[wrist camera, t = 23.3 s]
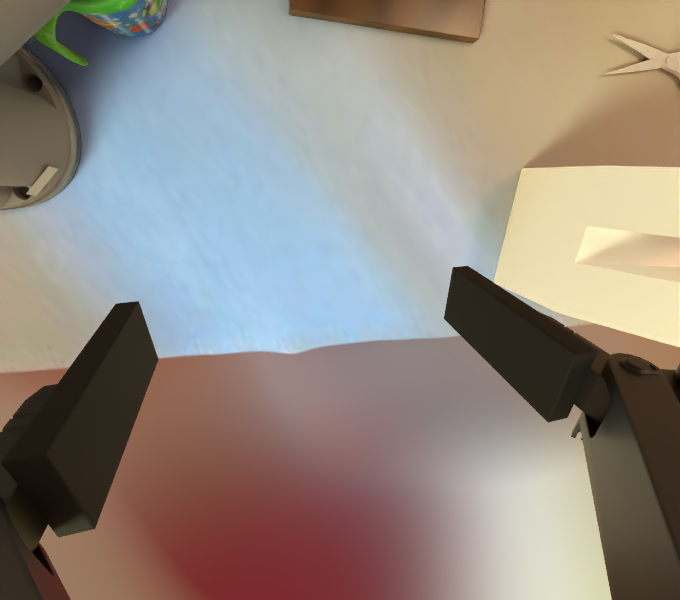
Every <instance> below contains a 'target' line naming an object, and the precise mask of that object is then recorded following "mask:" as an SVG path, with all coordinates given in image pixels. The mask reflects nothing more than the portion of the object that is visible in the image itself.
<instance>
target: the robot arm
mask: <svg viewBox="0 0 680 600" xmlns="http://www.w3.org/2000/svg"><path fill="white" fill-rule="evenodd" d="M70 1H71V0H0V210H5V209H15V208H23V207H28V206H33V205H37V204H40V203H42V202H45V201H47V200H49V199H51V198H53V197H54V196H56V195H57V194H58V193H60V192H61V191H62V190H63V189H64V188H65V187H66V186H67V185H68V183H69V182H70V181H71V179H72V178H73V176H74V174H75V172H76V170H77V167H78V164H79V160H80V154H81V136H80V129H79V124H78V120H77V117H76V114H75V111H74V109H73V107H72V104H71V102H70V100H69V98H68V97H67V95H66V93H65V91H64V90H63V88H62V87H61V85H60V84H59V82H58V81H57V80H56V78H55V77H54V76H53V74H52V73H51V72H50V71H49V70H48V69H47V67H46V66H45V65H44V64H43V63H42V62H41V61H40V60H39V59H38V58H36V57H35V56H34V55H33V54H32V53H31V52H30V51H28V50H27V49H26V48H24V47H23V45H24V44H25V43H26V42H27V41H28V40H29V39H30V38H31V37H32V36H33V35H34V34H36V33H37V32H38V31H39V30H40V29H41V28H42V27H43V26H44V25H45V24H46V23H47V22H48V21H50V20H51V19H52V18H53V17H54V16H55V15H56V14H57V13H58V12H59V11H60V10H61V9H62V8H63V7H65V6H66V5H67V4H68V3H69V2H70ZM444 319H445V320H446V321H447V322H448V323H449V324H450V325H451V326H452V327H453V328H454V329H455V330H456V331H457V332H458V333H459V334H460V335H461V336H462V337H463V338H464V339H465V340H466V341H467V342H468V343H469V344H470V345H471V346H472V347H473V348H474V349H475V350H476V351H477V352H478V353H479V354H480V355H481V356H482V357H483V358H484V359H485V360H486V361H487V362H488V363H489V364H490V365H491V366H492V367H493V368H494V369H495V370H496V371H497V372H498V373H499V374H500V375H501V376H502V377H503V378H504V379H505V380H506V381H507V382H508V383H509V384H510V385H511V386H512V387H513V388H514V389H515V390H516V391H517V392H518V393H519V394H520V395H521V396H522V397H523V398H524V399H525V400H526V401H527V402H529V404H530V405H531V406H532V407H533V408H534V409H535V410H536V411H537V412H538V413H539V414H540V415H541V416H542V417H543V418H544V419H545V420H546V421H547V422H551V421H556V420H560V419H564V418H567V417H568V415H569V413H570V411H571V409H572V407H573V404H575V405H576V406H577V407H578V408H580V409H581V410H582V413H581V415H580V417H579V419H578V421H577V423H576V425H575V427H574V429H573V431H572V435H571V437H574V438H575V437H576V435H577V433H578V432H580V431H581V434H582V438H581V440H583V445H584V450H585V455H586V461H587V466H588V472H589V477H590V483H591V488H592V494H593V499H594V504H595V510H596V515H597V521H598V526H599V531H600V537H601V542H602V548H603V553H604V559H605V564H606V570H607V575H608V581H609V586H610V592H611V597H612V600H680V364H679V366H678V367H677V369H676V370H665V369H659V368H658V367H656V366H655V365H654V364H652V363H651V362H649V361H646V360H644V359H642V358H640V357H636V356H633V355H629V354H622V353H617V354H612V355H610V354H608V353H607V352H605V351H603V350H602V349H600V348H599V347H597V346H596V345H594V344H592V343H591V342H589V341H588V340H586V339H585V338H583V337H581V336H580V335H578V334H577V333H574V331H572V330H570V329H569V328H568V327H564V325H563V324H561V323H560V322H558V321H557V320H555V319H553V318H552V317H549V316H547V315H544V314H542V313H539V312H538V311H536V310H535V309H533V308H532V307H530V306H529V305H527V304H525V303H524V302H522V301H521V300H519V299H518V298H516V297H515V296H513V295H512V294H510V293H509V292H507V291H505V290H504V289H502V288H501V287H499V286H498V285H496V284H495V283H493V282H492V281H490V280H489V279H487V278H485V277H484V276H482V275H481V274H479V273H478V272H476V271H475V270H473V269H472V268H470V267H469V266H462V267H453V270H452V275H451V281H450V287H449V293H448V298H447V304H446V310H445V316H444ZM157 362H158V357H157V354H156V351H155V348H154V345H153V342H152V339H151V336H150V333H149V330H148V327H147V325H146V322H145V319H144V316H143V313H142V310H141V307H140V304H139V301H137V302H128V303H119V304H115V306H114V307H113V309H112V310H111V311H110V313H109V314H108V315H107V317H106V318H105V320H104V321H103V322H102V324H101V325H100V326H99V328H98V329H97V331H96V332H95V333H94V335H93V336H92V337H91V339H90V340H89V342H88V343H87V344H86V346H85V347H84V349H83V350H82V351H81V353H80V354H79V355H78V357H77V358H76V360H75V361H74V362H73V364H72V365H71V366H70V368H69V369H68V371H67V372H66V373H65V375H64V376H63V378H62V379H61V380H60V382H59V383H58V384H56V385H50V386H44V387H42V388H41V389H40V390H38V391H37V392H36V393H34V394H33V395H32V396H31V397H29V398H28V399H27V400H25V401H24V403H23V404H22V405H21V406H20V408H19V409H18V410H17V412H16V413H15V414H14V415H13V419H10V420H9V421H8V423H7V424H6V425H5V426H4V428H3V431H2V432H0V600H70V597H69V596H68V594H67V592H66V590H65V588H64V586H63V584H62V582H61V580H60V578H59V576H58V574H57V573H56V570H55V569H54V567H53V565H52V563H51V561H50V559H49V557H48V555H47V553H46V551H45V550H44V548H43V547H42V546H41V544H40V543H39V541H40V539H41V537H42V535H43V533H44V531H45V529H46V527H47V525H48V524H49V526H50V527H51V528H52V530H53V531H54V532H55V533H56V535H57V536H58V537H62V536H66V535H71V534H75V533H79V532H83V531H87V530H92V529H95V527H96V525H97V522H98V519H99V517H100V514H101V511H102V508H103V506H104V503H105V501H106V498H107V495H108V492H109V490H110V487H111V485H112V482H113V479H114V477H115V474H116V471H117V468H118V466H119V463H120V460H121V458H122V455H123V452H124V450H125V447H126V445H127V441H128V439H129V436H130V434H131V431H132V428H133V426H134V423H135V420H136V418H137V415H138V412H139V410H140V407H141V404H142V402H143V399H144V396H145V394H146V391H147V388H148V386H149V383H150V380H151V378H152V375H153V372H154V370H155V367H156V364H157Z"/></svg>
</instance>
